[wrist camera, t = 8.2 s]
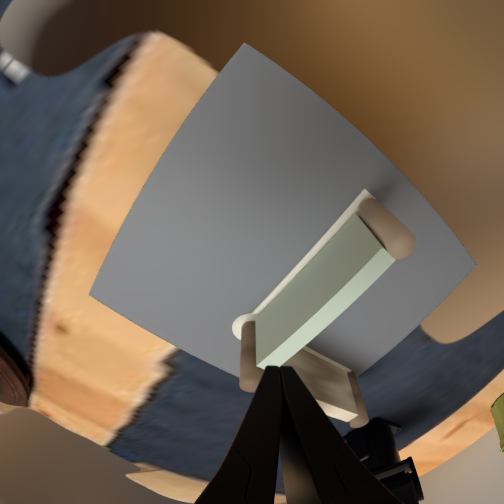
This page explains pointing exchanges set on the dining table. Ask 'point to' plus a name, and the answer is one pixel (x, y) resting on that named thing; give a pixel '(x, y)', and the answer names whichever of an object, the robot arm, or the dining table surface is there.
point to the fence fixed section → (309, 380)
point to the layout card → (269, 224)
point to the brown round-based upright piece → (12, 382)
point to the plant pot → (499, 419)
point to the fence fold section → (331, 282)
